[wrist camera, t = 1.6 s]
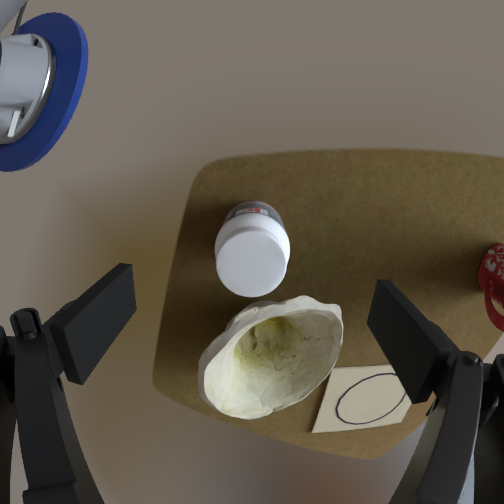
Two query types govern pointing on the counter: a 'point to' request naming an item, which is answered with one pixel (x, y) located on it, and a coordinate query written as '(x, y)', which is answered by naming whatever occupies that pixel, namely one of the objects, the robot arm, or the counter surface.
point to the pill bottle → (252, 249)
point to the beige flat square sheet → (361, 399)
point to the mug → (493, 282)
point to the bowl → (270, 356)
